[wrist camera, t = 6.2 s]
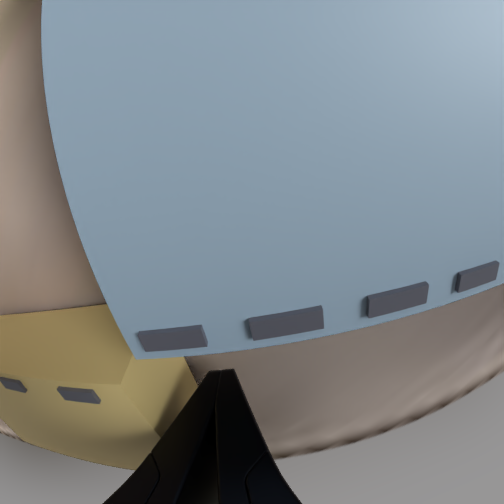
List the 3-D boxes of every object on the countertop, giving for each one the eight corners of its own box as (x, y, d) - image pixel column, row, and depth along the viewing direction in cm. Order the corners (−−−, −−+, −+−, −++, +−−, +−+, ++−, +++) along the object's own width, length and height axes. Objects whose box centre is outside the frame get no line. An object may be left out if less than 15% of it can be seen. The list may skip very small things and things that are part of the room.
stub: (158, 297, 8) (118, 389, 5) (204, 399, 10) (195, 478, 7) (-4, 315, 9) (-46, 364, 6) (48, 392, 11) (22, 442, 8)
